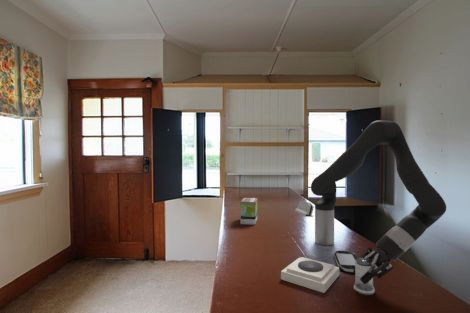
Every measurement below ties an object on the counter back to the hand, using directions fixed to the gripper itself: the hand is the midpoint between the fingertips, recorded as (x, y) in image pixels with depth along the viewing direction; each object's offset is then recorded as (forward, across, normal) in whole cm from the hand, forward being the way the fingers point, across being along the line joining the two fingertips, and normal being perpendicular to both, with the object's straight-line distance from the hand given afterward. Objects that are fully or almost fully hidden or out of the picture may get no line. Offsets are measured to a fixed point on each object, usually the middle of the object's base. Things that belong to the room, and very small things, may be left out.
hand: (358, 277), depth 92 cm
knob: (+2, 0, +4) cm, 5 cm away
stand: (+13, -9, -7) cm, 17 cm away
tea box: (+29, -87, -22) cm, 94 cm away
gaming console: (+1, -22, +6) cm, 23 cm away
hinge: (0, -110, +6) cm, 110 cm away
